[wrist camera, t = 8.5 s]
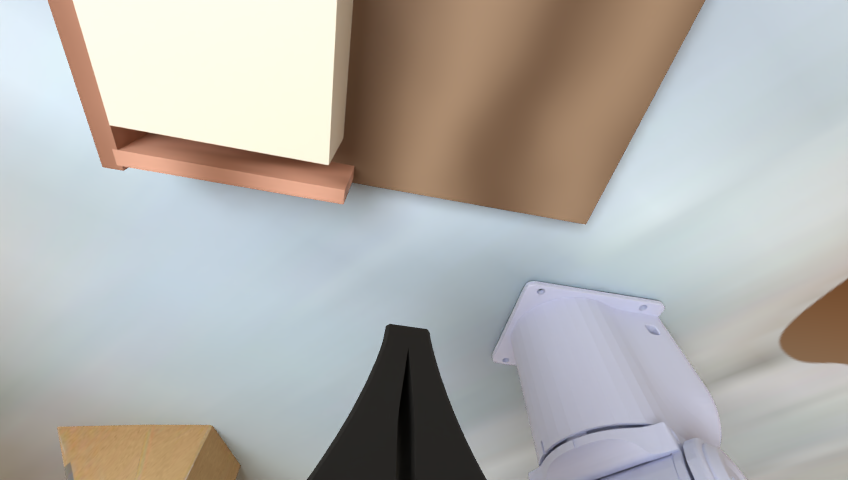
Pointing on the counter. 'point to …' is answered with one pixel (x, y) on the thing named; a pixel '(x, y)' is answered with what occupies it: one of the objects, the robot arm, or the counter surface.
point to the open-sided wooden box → (450, 103)
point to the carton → (225, 70)
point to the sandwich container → (146, 453)
